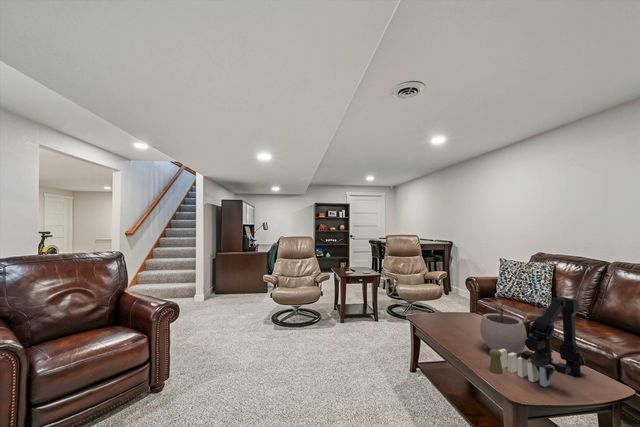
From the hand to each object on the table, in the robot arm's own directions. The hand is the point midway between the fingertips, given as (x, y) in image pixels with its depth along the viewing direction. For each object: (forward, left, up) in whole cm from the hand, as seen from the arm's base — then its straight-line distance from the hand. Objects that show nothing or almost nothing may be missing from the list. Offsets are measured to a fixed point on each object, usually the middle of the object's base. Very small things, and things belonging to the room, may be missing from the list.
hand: (545, 379), depth 134 cm
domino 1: (0, -20, -3) cm, 20 cm away
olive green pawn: (+8, -19, -3) cm, 21 cm away
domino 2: (0, -15, -3) cm, 15 cm away
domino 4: (0, -5, -3) cm, 6 cm away
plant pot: (-18, -30, -3) cm, 35 cm away
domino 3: (0, -10, -3) cm, 10 cm away
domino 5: (0, 0, -2) cm, 2 cm away
